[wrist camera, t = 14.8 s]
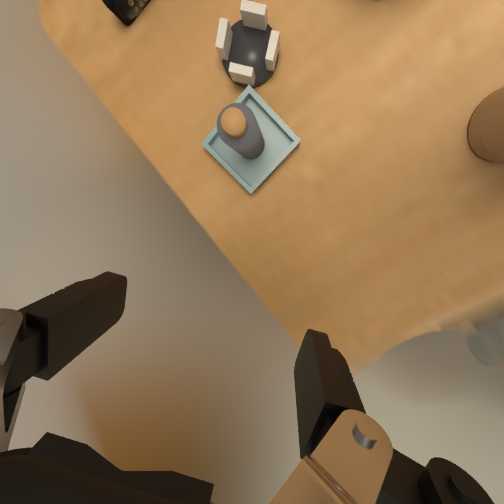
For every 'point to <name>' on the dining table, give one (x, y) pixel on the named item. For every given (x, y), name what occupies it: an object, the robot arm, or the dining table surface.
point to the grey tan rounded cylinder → (240, 130)
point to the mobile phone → (126, 9)
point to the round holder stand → (248, 46)
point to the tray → (275, 150)
